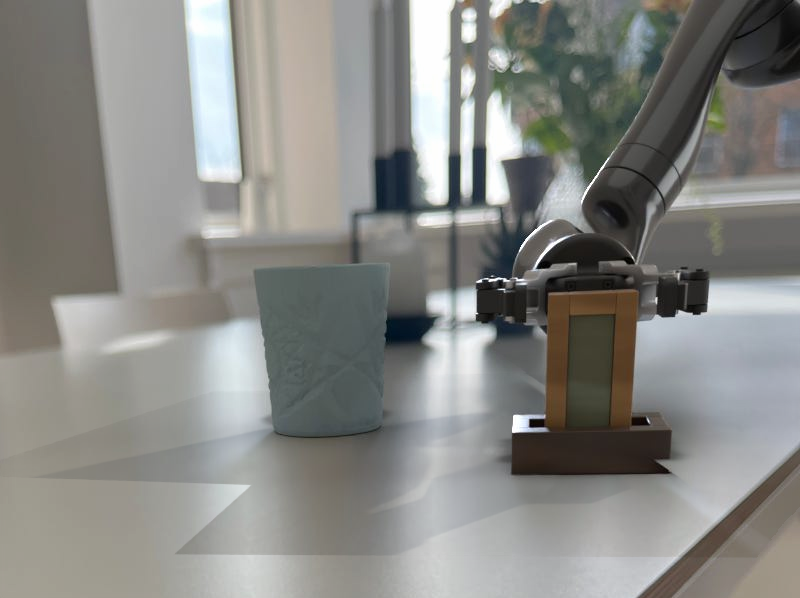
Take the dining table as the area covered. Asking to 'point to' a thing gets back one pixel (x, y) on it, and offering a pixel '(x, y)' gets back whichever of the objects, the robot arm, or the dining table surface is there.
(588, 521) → the dining table surface
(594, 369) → the frame
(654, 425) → the holder
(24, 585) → the dining table surface
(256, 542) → the dining table surface
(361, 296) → the pale blue-green cup
